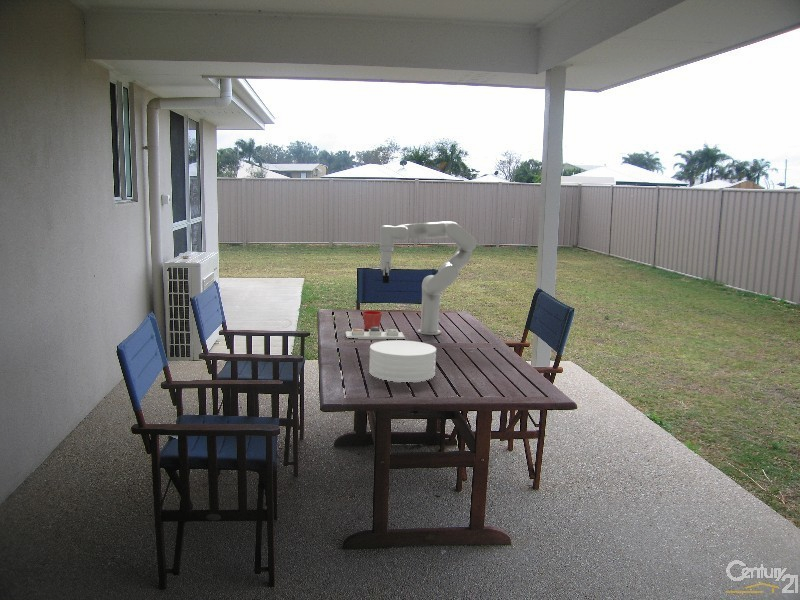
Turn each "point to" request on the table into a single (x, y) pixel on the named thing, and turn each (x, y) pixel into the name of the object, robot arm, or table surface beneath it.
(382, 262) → the robot arm
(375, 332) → the button board
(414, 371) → the plate stack
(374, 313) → the flower pot
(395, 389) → the table surface
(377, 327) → the charcoal button
